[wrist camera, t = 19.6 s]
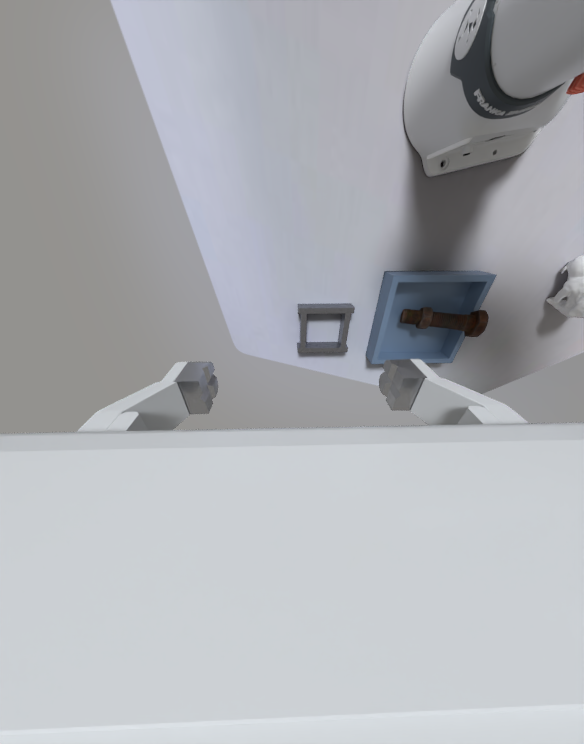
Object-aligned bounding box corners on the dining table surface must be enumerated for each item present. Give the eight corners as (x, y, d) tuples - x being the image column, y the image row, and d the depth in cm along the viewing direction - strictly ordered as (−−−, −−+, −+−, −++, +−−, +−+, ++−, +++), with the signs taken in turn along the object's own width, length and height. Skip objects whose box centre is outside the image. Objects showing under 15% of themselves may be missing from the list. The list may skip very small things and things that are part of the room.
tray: (479, 270, 44) (496, 274, 40) (440, 353, 56) (451, 362, 52) (384, 271, 44) (393, 275, 40) (365, 354, 55) (371, 364, 52)
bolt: (400, 306, 49) (475, 314, 46) (396, 328, 50) (468, 337, 47) (407, 301, 44) (493, 309, 40) (402, 326, 44) (485, 336, 41)
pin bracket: (351, 303, 47) (354, 307, 45) (344, 346, 54) (347, 352, 51) (297, 304, 47) (298, 308, 45) (297, 346, 53) (297, 352, 51)
